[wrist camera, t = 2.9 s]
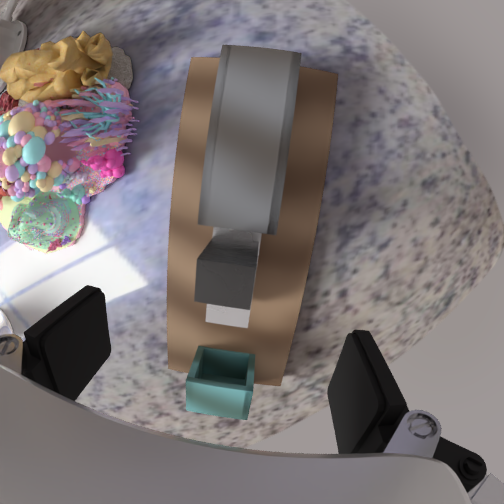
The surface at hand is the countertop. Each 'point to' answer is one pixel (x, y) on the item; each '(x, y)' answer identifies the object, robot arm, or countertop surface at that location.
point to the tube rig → (245, 213)
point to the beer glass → (5, 324)
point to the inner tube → (228, 276)
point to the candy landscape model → (61, 136)
